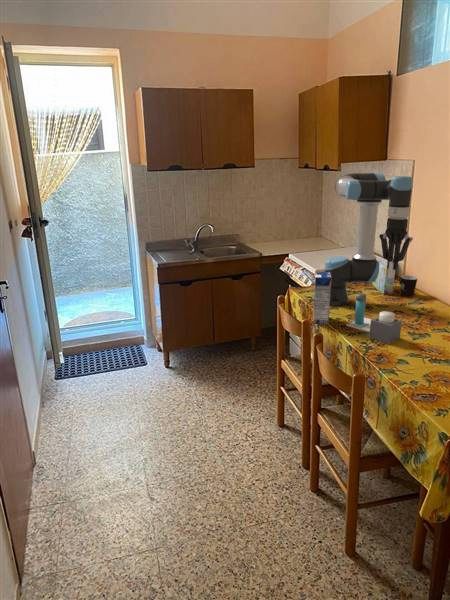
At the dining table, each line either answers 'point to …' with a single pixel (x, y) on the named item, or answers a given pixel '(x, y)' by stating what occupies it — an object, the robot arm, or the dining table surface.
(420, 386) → the dining table surface
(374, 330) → the button console
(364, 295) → the marker
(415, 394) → the dining table surface
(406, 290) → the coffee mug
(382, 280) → the snack box
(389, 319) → the button
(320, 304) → the beverage box
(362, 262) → the robot arm
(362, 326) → the white sorting board
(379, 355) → the dining table surface
